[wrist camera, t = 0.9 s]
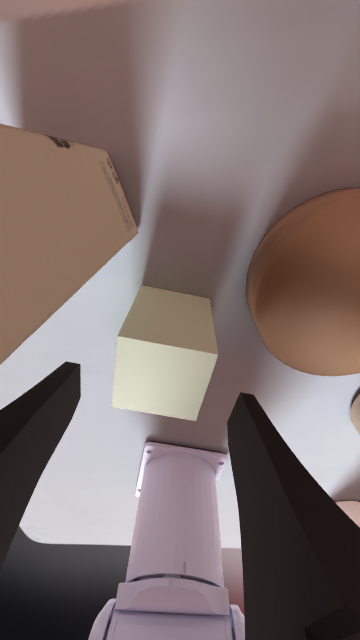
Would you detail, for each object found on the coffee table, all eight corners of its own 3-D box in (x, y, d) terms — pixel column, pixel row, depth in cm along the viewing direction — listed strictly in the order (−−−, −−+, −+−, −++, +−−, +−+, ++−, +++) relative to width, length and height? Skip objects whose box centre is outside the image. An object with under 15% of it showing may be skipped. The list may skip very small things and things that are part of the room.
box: (108, 147, 12) (-682, -146, 1) (141, 235, 14) (-42, 429, 3) (20, 183, 13) (-866, 205, 2) (62, 260, 15) (-287, 478, 4)
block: (194, 352, 18) (195, 421, 13) (134, 341, 18) (111, 406, 13) (210, 298, 16) (218, 354, 11) (141, 284, 16) (117, 335, 11)
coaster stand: (360, 358, 18) (389, 388, 15) (226, 332, 17) (232, 359, 15) (464, 210, 13) (532, 218, 10) (282, 168, 13) (306, 164, 10)
